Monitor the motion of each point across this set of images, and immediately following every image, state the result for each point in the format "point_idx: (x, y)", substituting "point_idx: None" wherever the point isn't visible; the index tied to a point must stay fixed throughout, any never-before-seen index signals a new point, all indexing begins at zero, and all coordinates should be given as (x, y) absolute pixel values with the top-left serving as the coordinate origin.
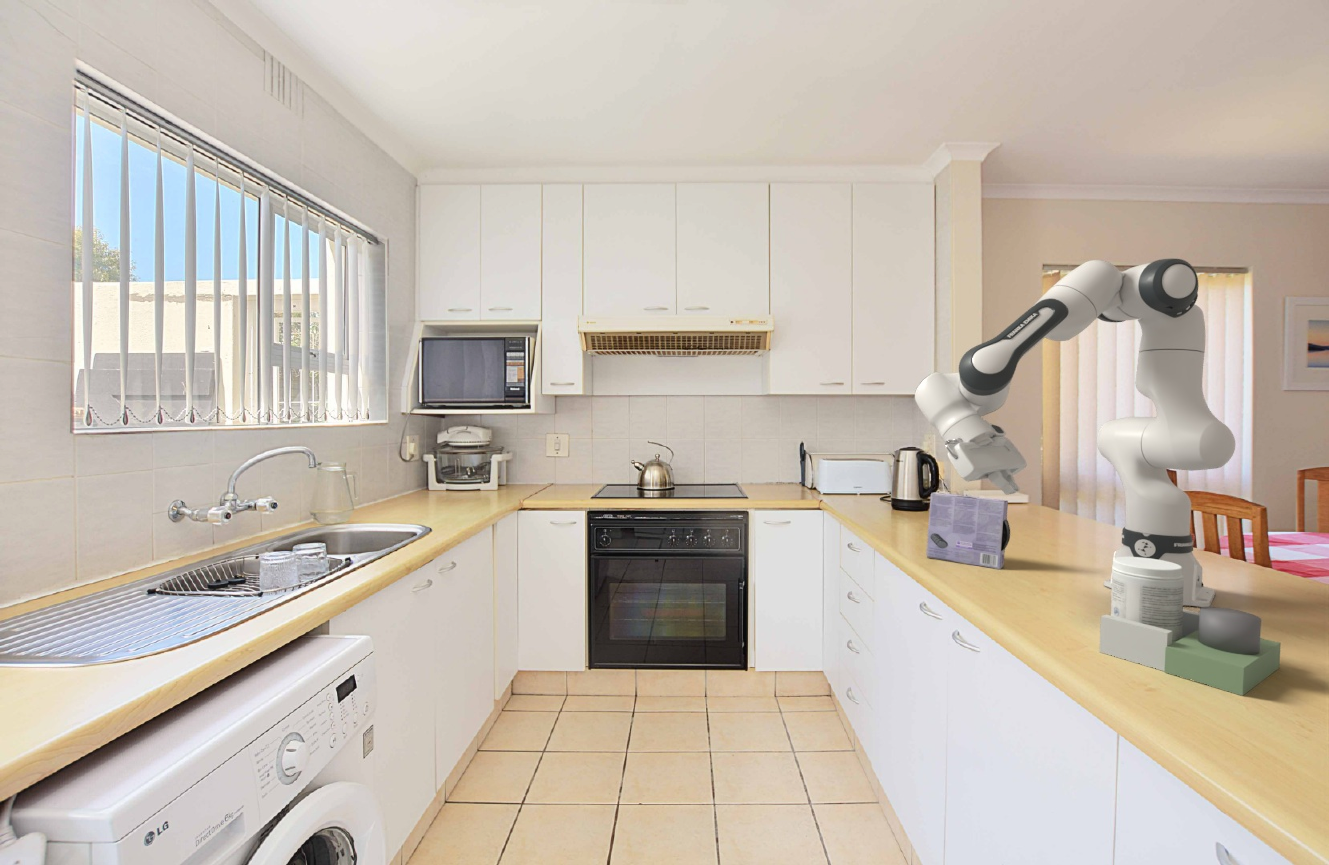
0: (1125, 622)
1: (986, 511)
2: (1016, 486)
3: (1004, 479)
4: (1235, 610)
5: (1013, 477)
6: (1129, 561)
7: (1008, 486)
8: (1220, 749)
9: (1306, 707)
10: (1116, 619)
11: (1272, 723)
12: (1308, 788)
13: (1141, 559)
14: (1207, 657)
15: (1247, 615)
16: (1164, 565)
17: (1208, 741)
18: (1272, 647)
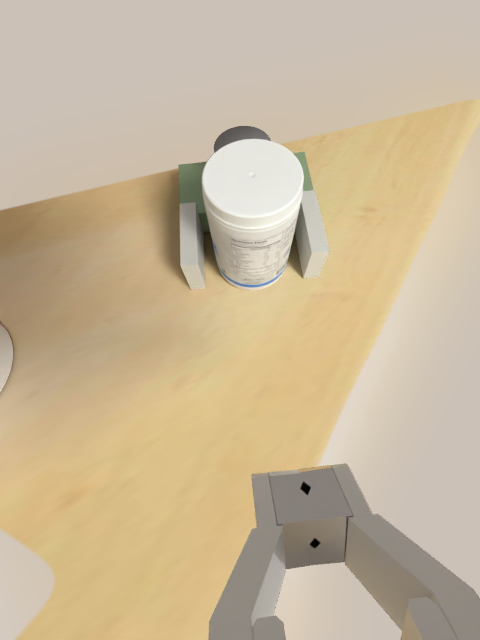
0: (322, 226)
1: None
2: (276, 486)
3: (398, 549)
4: (217, 149)
5: (231, 576)
6: (272, 189)
7: (361, 496)
8: (427, 147)
9: None
10: (321, 236)
11: (338, 149)
12: (424, 113)
13: (231, 189)
14: (306, 173)
15: (230, 137)
16: (247, 155)
17: (424, 154)
18: (204, 162)
